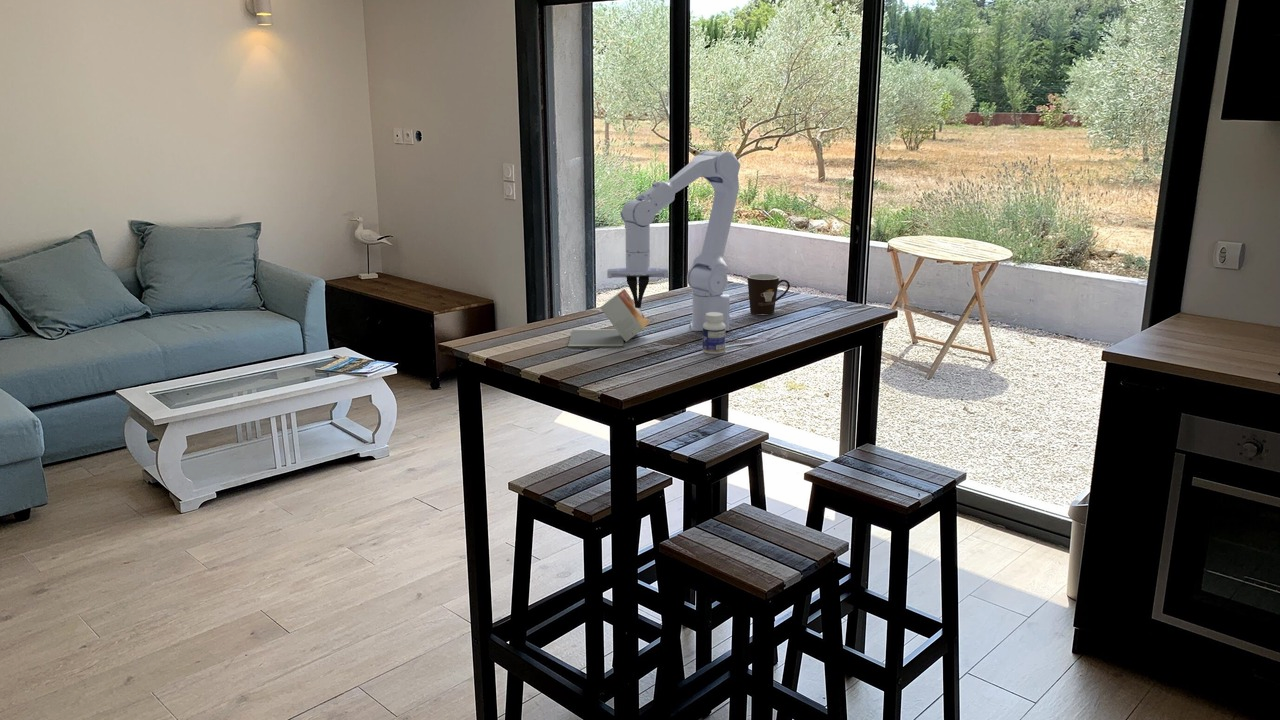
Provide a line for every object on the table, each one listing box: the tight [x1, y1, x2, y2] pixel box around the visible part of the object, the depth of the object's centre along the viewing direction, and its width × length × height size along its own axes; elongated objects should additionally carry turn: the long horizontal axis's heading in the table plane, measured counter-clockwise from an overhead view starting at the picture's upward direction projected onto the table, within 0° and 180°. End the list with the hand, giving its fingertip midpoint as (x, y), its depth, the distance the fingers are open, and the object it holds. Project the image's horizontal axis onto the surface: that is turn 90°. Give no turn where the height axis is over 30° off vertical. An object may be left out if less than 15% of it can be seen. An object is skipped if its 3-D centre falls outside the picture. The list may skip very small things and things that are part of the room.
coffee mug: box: [746, 273, 791, 315], centre depth 251 cm, size 12×9×10 cm
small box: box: [599, 288, 650, 343], centre depth 224 cm, size 8×6×10 cm
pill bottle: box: [702, 312, 726, 355], centre depth 213 cm, size 5×5×9 cm
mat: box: [567, 328, 625, 349], centre depth 225 cm, size 13×16×1 cm
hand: (637, 307), depth 223 cm, fingers closed
